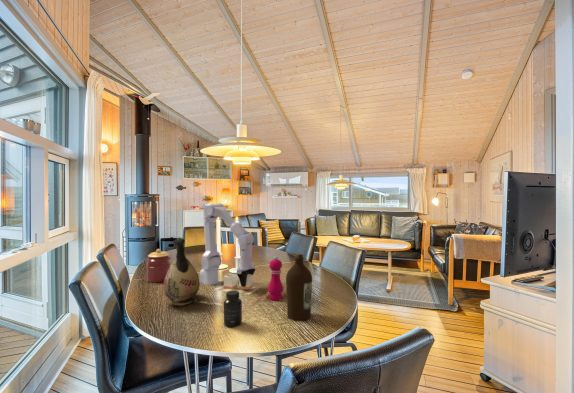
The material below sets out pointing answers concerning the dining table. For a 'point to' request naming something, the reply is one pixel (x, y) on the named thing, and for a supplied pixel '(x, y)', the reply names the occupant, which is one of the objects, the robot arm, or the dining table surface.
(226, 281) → the seated sleeve
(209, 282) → the robot arm
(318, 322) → the dining table surface
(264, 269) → the dining table surface
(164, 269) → the canister
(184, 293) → the ceramic jug
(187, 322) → the dining table surface
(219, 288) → the pin board
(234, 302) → the supplement bottle
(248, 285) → the sleeve
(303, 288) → the olive oil
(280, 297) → the pepper mill
